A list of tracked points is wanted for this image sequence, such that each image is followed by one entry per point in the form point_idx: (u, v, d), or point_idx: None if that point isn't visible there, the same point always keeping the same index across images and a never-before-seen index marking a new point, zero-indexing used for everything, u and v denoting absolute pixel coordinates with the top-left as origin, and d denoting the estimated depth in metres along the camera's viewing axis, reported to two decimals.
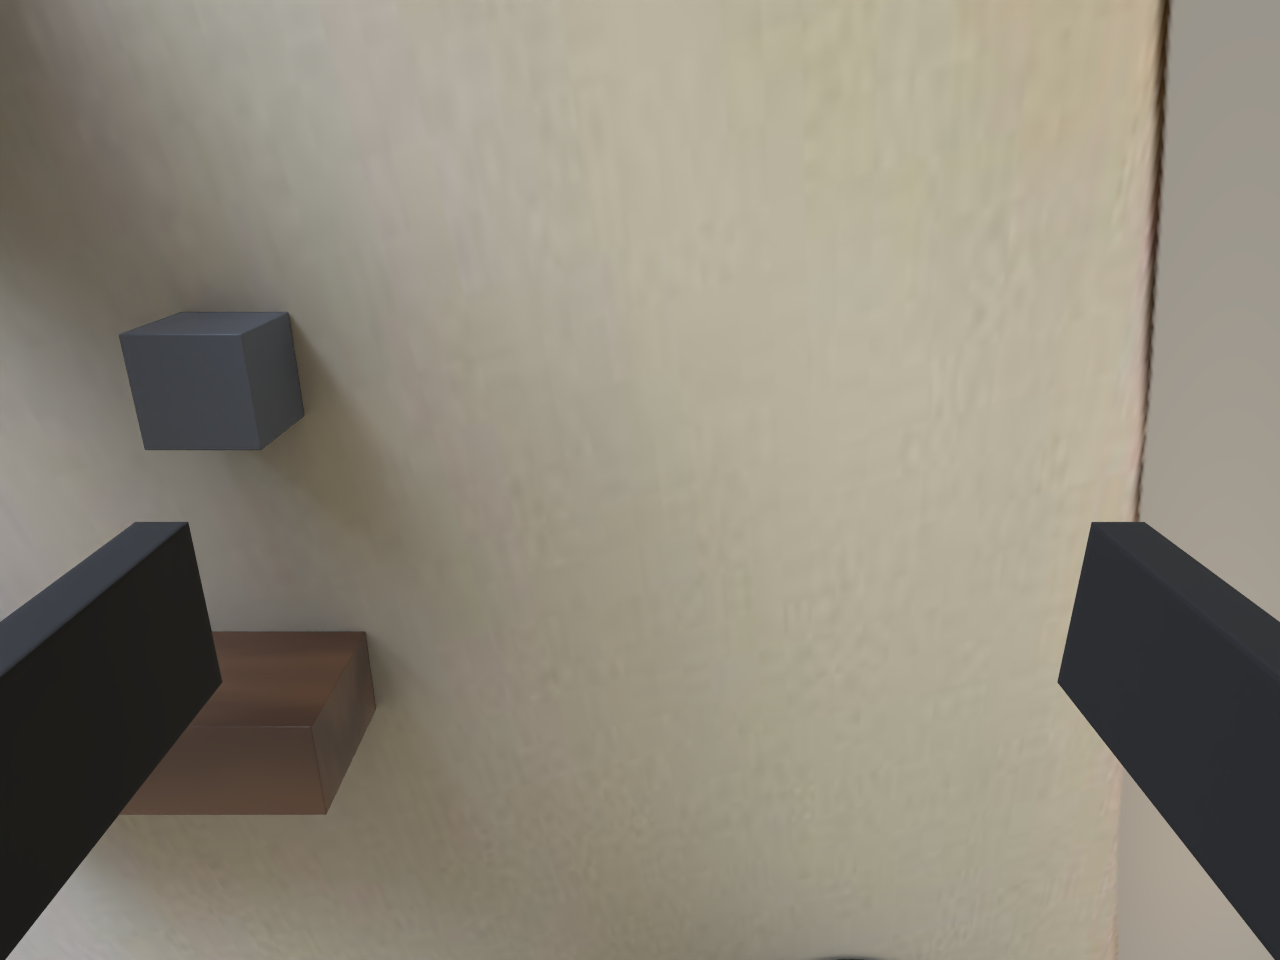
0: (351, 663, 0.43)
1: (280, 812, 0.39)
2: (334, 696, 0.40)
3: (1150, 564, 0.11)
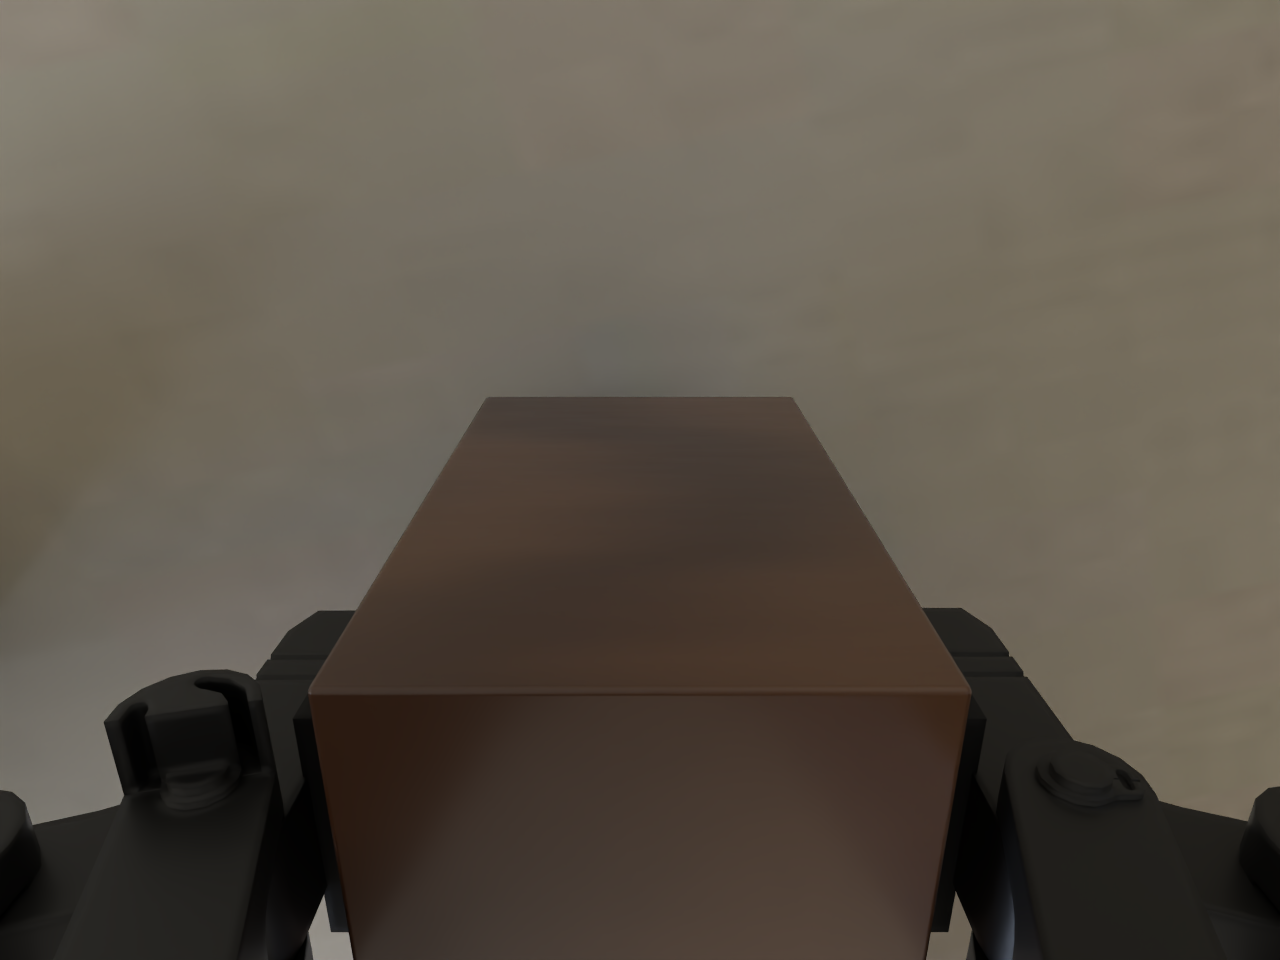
0: (480, 446, 0.11)
1: (921, 902, 0.07)
2: (442, 529, 0.09)
3: None
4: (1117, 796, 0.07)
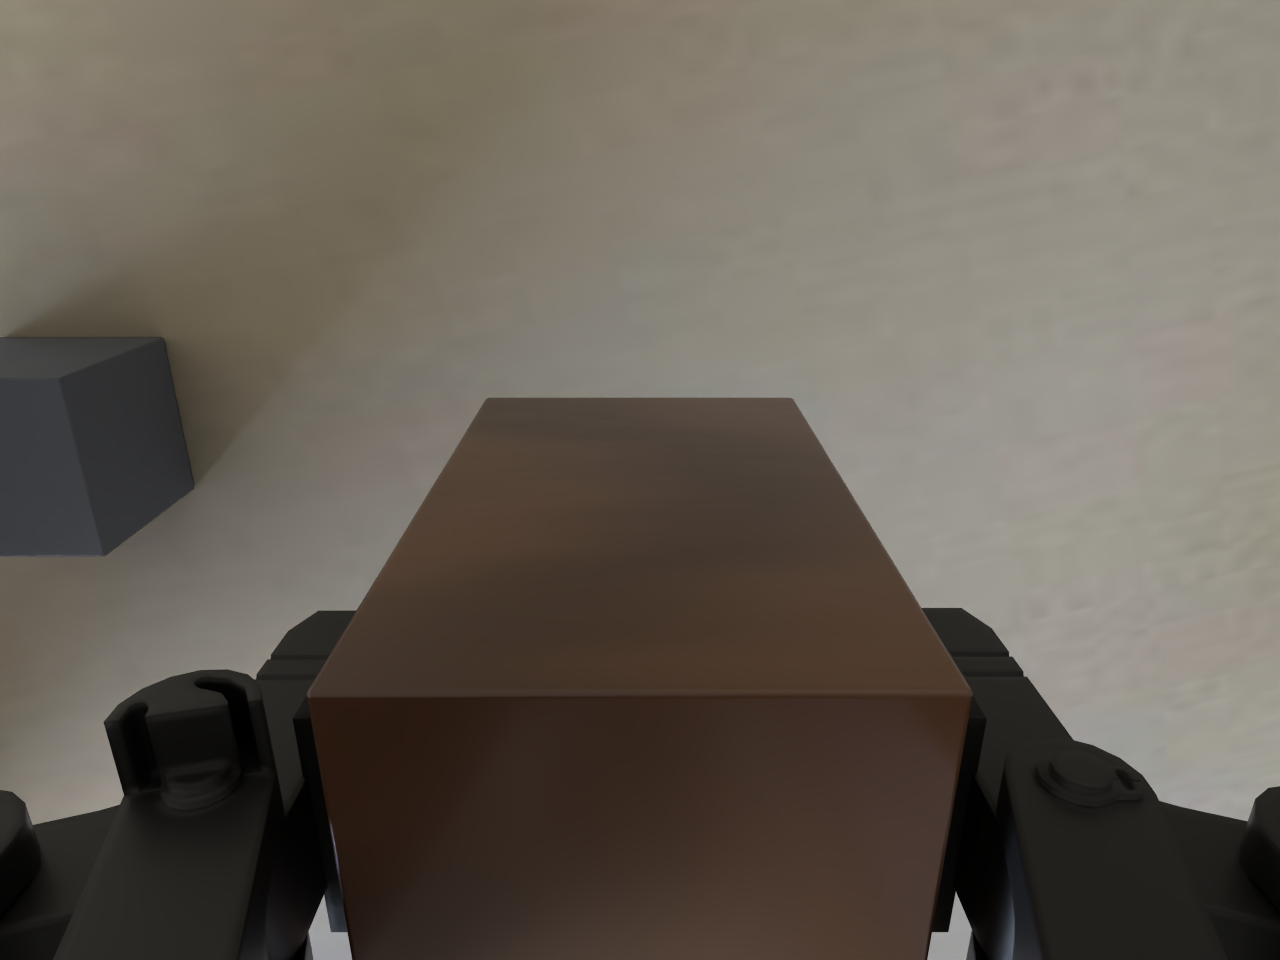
0: (480, 447, 0.11)
1: (921, 904, 0.07)
2: (442, 531, 0.09)
3: None
4: (1117, 796, 0.07)
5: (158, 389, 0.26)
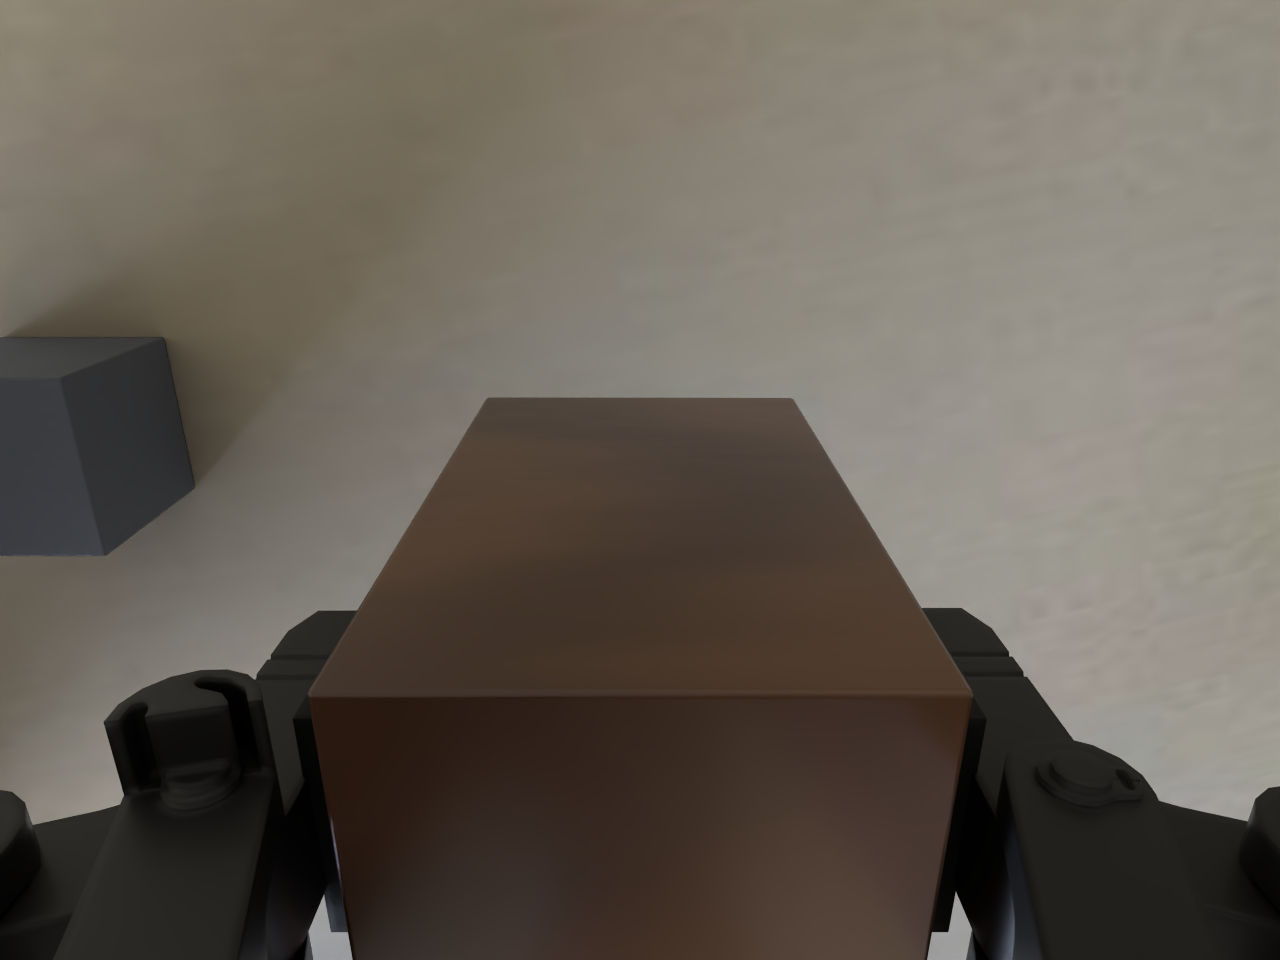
0: (480, 447, 0.11)
1: (922, 905, 0.07)
2: (442, 530, 0.09)
3: None
4: (1117, 796, 0.07)
5: (159, 389, 0.26)
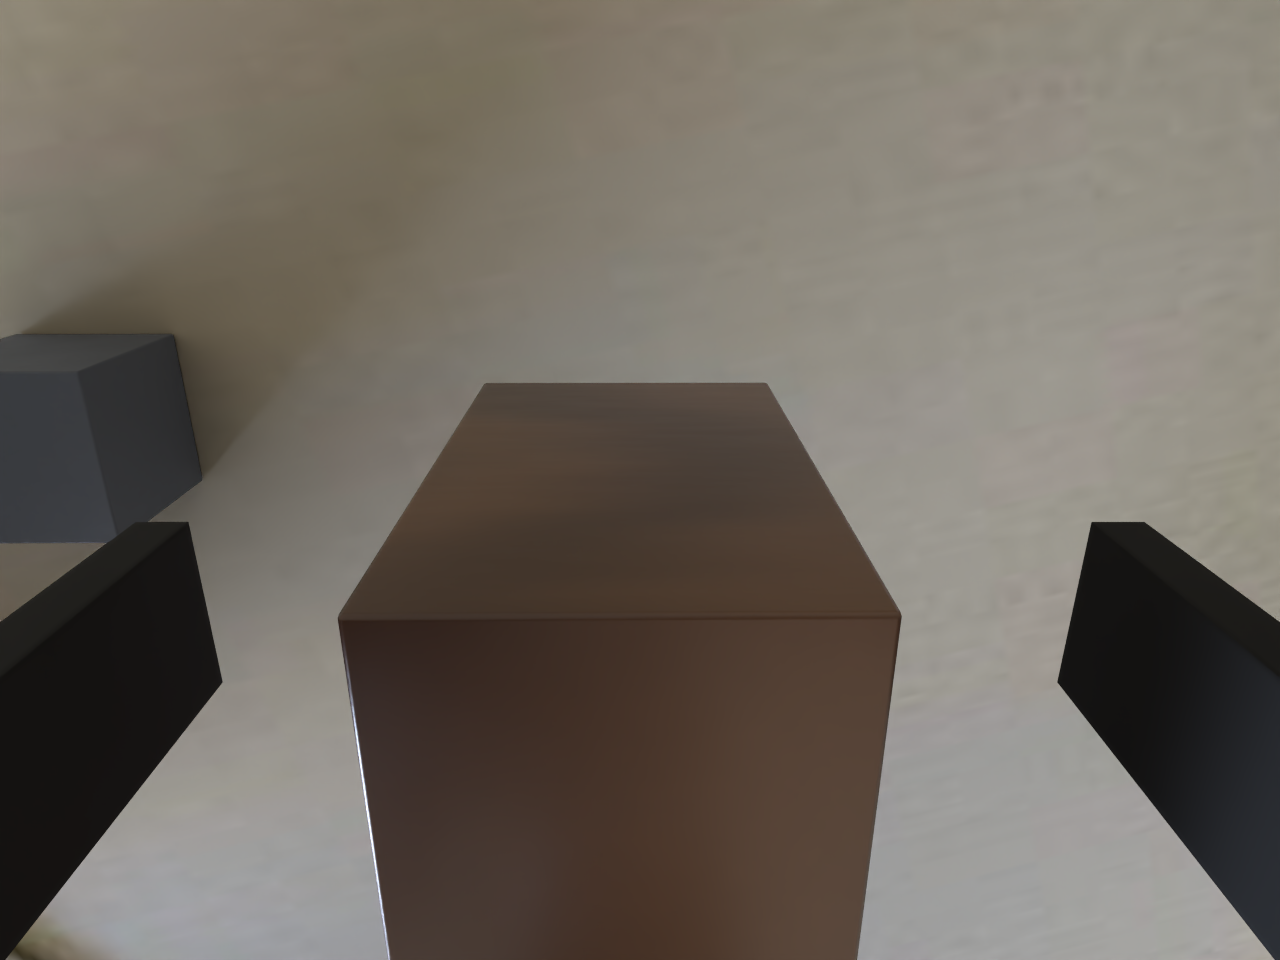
0: (479, 425, 0.13)
1: (864, 804, 0.08)
2: (447, 492, 0.10)
3: (1150, 564, 0.11)
4: None
5: (168, 384, 0.27)
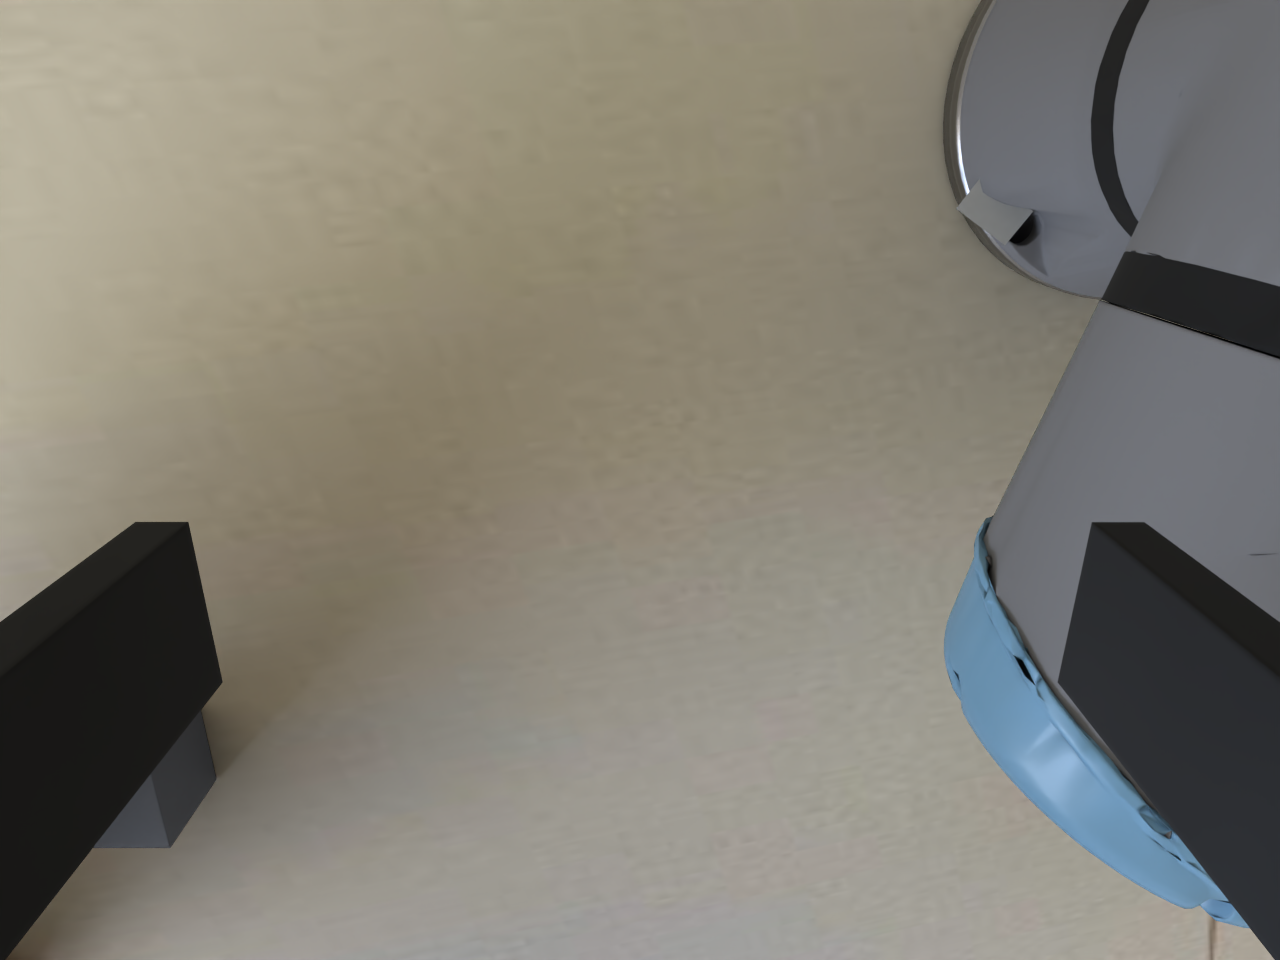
0: None
1: None
2: None
3: (1150, 564, 0.11)
4: None
5: (197, 736, 0.45)
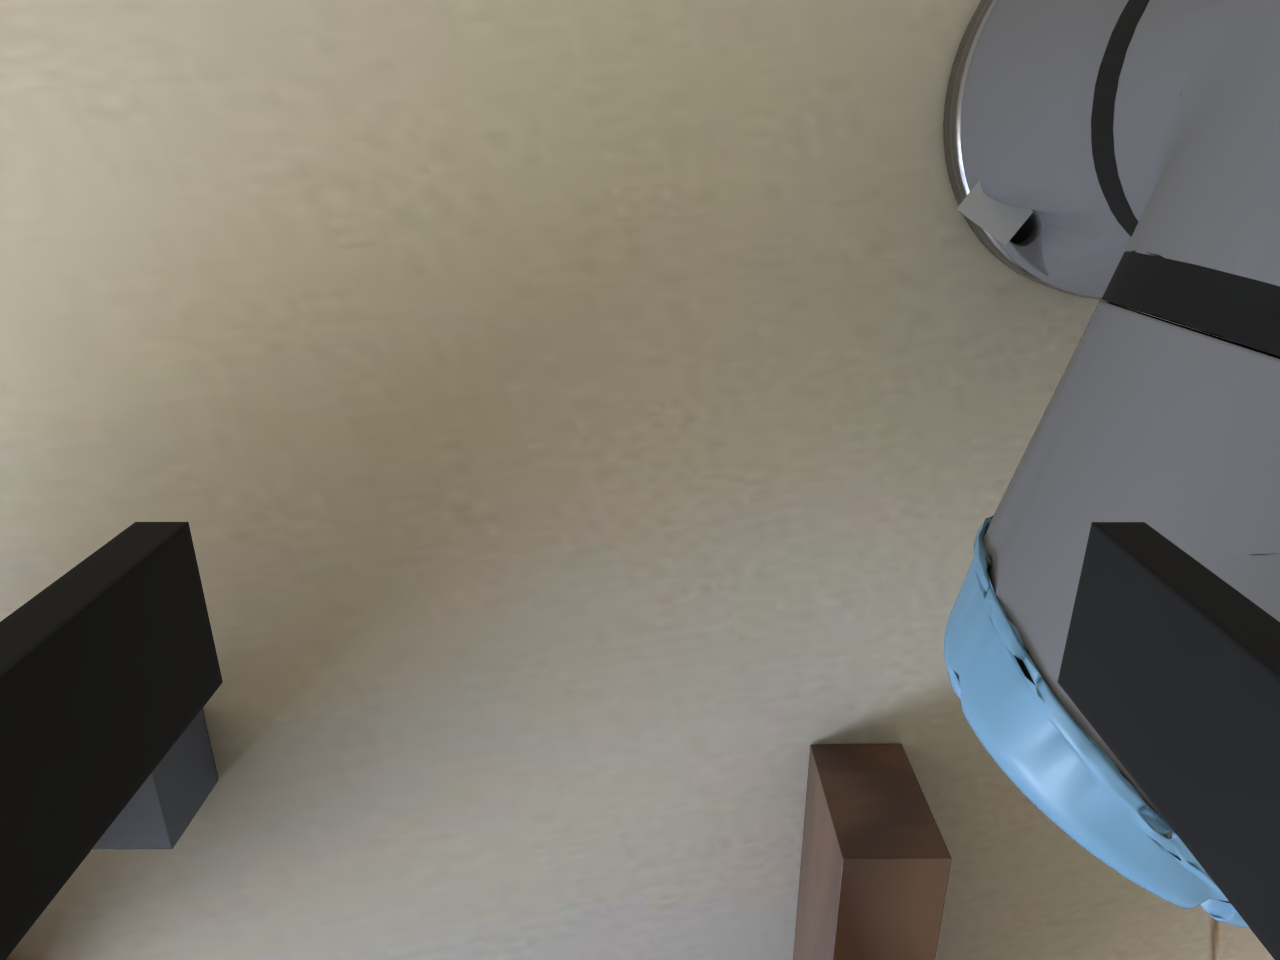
0: (825, 775, 0.44)
1: (943, 892, 0.39)
2: (838, 813, 0.41)
3: (1150, 564, 0.11)
4: None
5: (198, 737, 0.45)
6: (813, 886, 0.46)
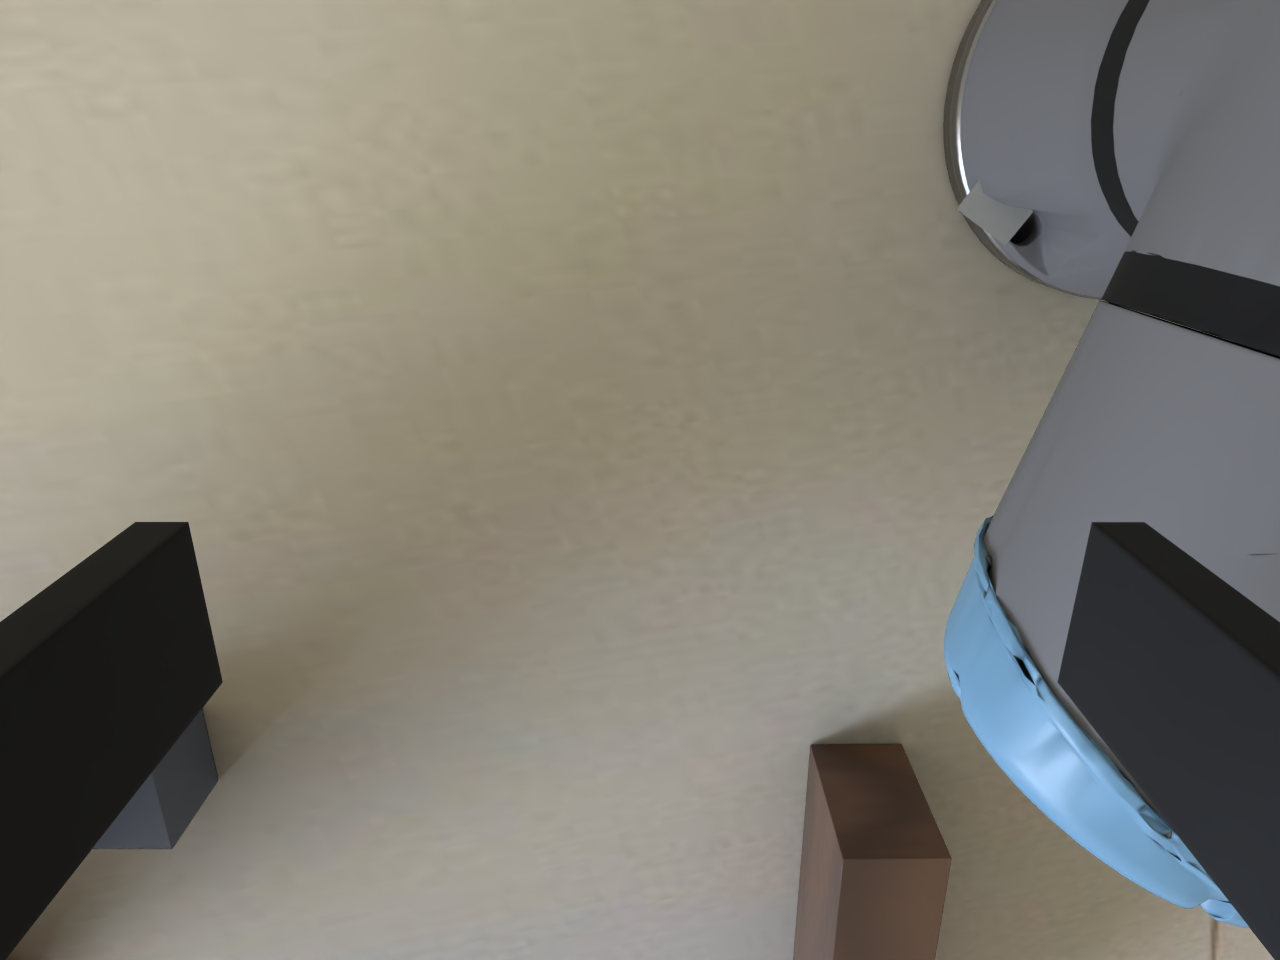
0: (825, 775, 0.44)
1: (943, 893, 0.39)
2: (838, 813, 0.41)
3: (1150, 564, 0.11)
4: None
5: (198, 737, 0.45)
6: (813, 886, 0.46)
